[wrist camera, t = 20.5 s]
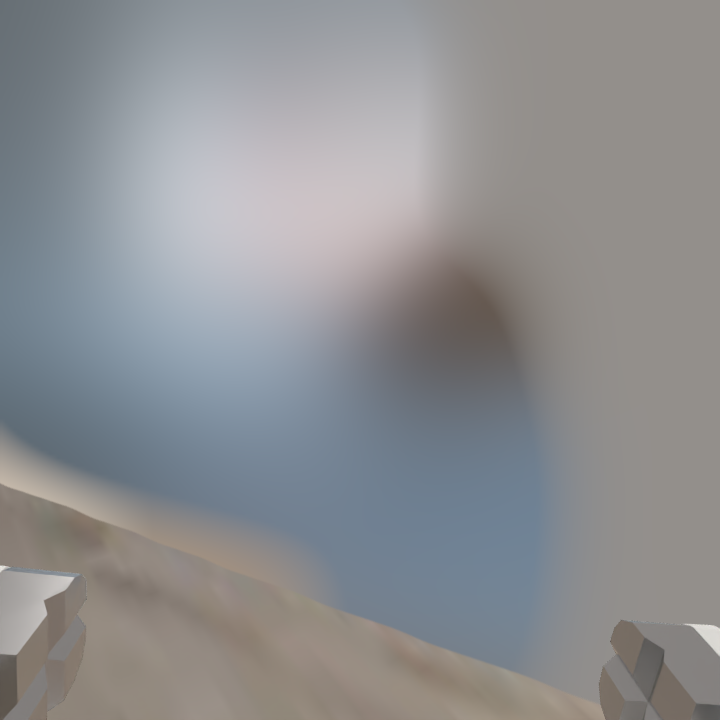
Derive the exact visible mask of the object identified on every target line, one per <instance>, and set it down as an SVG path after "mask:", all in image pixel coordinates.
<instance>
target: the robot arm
mask: <svg viewBox="0 0 720 720" xmlns="http://www.w3.org/2000/svg"><path fill="white" fill-rule="evenodd" d="M86 600H87V586H86V579H85V577H84V576H83V575H82V574H76V573H67V572H57V571H48V570H39V569H29V568H20V567H7V566H0V720H47V712H48V711H49V710H51V709H52V708H54V707H55V706H56V705H58V704H59V703H61V702H62V701H64V699H65V698H66V696H67V694H68V692H69V690H70V688H71V687H72V685H73V683H74V681H75V678H76V675H77V672H78V669H79V667H80V664H81V661H82V657H83V652H84V646H85V639H86V626H85V624H84V623H83V622H82V620H81V619H80V618H79V616H78V615H77V614H78V612H79V611H80V609H81V608H82V606H83V605H84V603H85V602H86ZM610 642H611V645H612V647H613V649H614V651H615V653H616V655H615V656H614V657H613V658H611V660H609V661H608V662H607V663H606V664H605V665H604V666H603V669H602V674H601V678H600V682H599V691H600V702H601V707H602V710H603V713H604V716H605V719H606V720H720V629H719V628H717V627H715V626H713V625H696V624H681V625H677V624H665V623H652V622H640V621H627V620H621V621H620V622H619V623H618V624H617V626H616V627H615V628H614V631H613V634H612V637H611V641H610Z"/></svg>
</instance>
